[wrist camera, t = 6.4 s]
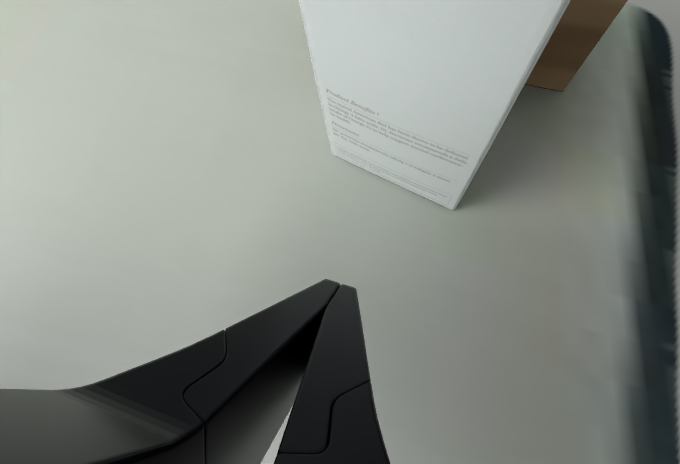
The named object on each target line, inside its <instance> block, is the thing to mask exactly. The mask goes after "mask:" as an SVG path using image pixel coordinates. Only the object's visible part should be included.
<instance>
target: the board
mask: <svg viewBox="0 0 680 464" xmlns="http://www.w3.org/2000/svg"><path fill="white" fill-rule="evenodd" d="M626 2H627V0H571V1H570V2H569V4H568V6H567V8H566V10H565V12H564V13H563V15H562V17H561V19H560V21H559V23H558V24H557V26H556V28H555V30H554V32H553V33H552V35H551V37H550V39H549V41H548V43H547V44H546V46H545V48H544V50H543V52H542V54H541V55H540V57H539V59H538V61H537V63H536V64H535V66H534V68H533V70H532V72H531V74H530V75H529V77H528V79H527V81H526V83H525V84H527V85H532V86H537V87H543V88H548V89H553V90H559V91H563V90H564V89H565V87H566V86H567V85H568V83H569V82H570V80H571V79H572V77H573V76H574V75H575V73H576V72H577V70H578V69H579V68H580V66H581V65H582V63H583V62H584V61H585V59H586V58H587V56H588V55H589V54H590V52H591V51H592V49H593V48H594V47H595V45H596V44H597V42H598V41H599V40H600V38H601V37H602V35H603V34H604V33H605V31H606V30H607V28H608V27H609V26H610V24H611V23H612V21H613V20H614V19H615V17H616V16H617V14H618V13H619V12H620V10H621V9H622V7H623V6H624V5H625V3H626Z"/></svg>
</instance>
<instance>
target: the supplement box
mask: <svg viewBox="0 0 680 464" xmlns="http://www.w3.org/2000/svg"><path fill="white" fill-rule="evenodd" d="M570 1H571V0H299V5H300V9H301V14H302V18H303V23H304V27H305V33H306V38H307V42H308V46H309V51H310V56H311V60H312V65H313V70H314V74H315V79H316V84H317V88H318V92H319V97H320V102H321V107H322V111H323V116H324V120H325V124H326V129H327V133H328V138H329V142H330V147H331V151H332V154H333V155H335V156H338V157H340V158H342V159H344V160H346V161H348V162H350V163H352V164H354V165H356V166H359V167H361V168H363V169H365V170H367V171H369V172H371V173H374V174H376V175H378V176H380V177H382V178H384V179H386V180H389V181H391V182H393V183H395V184H397V185H399V186H401V187H404V188H406V189H408V190H410V191H412V192H414V193H416V194H419V195H421V196H423V197H425V198H427V199H429V200H432V201H434V202H436V203H438V204H440V205H442V206H444V207H446V208H449V209H451V210H455V208H456V207H457V205H458V203H459V202H460V200H461V198H462V197H463V195H464V193H465V191H466V190H467V188H468V186H469V184H470V183H471V181H472V179H473V177H474V176H475V174H476V172H477V170H478V168H479V167H480V165H481V163H482V161H483V160H484V158H485V156H486V154H487V152H488V151H489V149H490V147H491V145H492V143H493V142H494V140H495V138H496V136H497V134H498V132H499V131H500V129H501V127H502V125H503V123H504V121H505V120H506V118H507V116H508V114H509V112H510V110H511V108H512V107H513V105H514V103H515V101H516V99H517V97H518V95H519V94H520V92H521V90H522V88H523V86H524V85H525V83H526V81H527V79H528V77H529V75H530V74H531V72H532V70H533V68H534V66H535V64H536V63H537V61H538V59H539V57H540V55H541V54H542V52H543V50H544V48H545V46H546V44H547V43H548V41H549V39H550V37H551V35H552V33H553V32H554V30H555V28H556V26H557V24H558V23H559V21H560V19H561V17H562V15H563V13H564V12H565V10H566V8H567V6H568V4H569V2H570Z"/></svg>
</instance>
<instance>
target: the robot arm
mask: <svg viewBox="0 0 680 464" xmlns="http://www.w3.org/2000/svg"><path fill="white" fill-rule="evenodd" d="M370 382H371V380H370V374H369V367H368V361H367V354H366V348H365V341H364V335H363V328H362V322H361V315H360V309H359V302H358V296H357V290H356V289H355V288H354V287H350V286H347V285H344V284H342V285H341V286H340V284H339V283H337V282H334V281H331V280H328V279H325V280H323V281H321V282H319V283H317V284H315V285H313V286H311V287H309V288H307V289H305V290H303V291H301V292H299V293H297V294H295V295H293V296H291V297H289V298H287V299H285V300H283V301H281V302H278V303H276V304H274V305H272V306H270V307H268V308H266V309H264V310H262V311H260V312H258V313H256V314H254V315H252V316H250V317H248V318H246V319H244V320H242V321H240V322H238V323H236V324H234V325H232V326H230V327H228V328H226V330H222V331H220V332H218V333H216V334H214V335H212V336H210V337H208V338H205V339H203V340H201V341H199V342H197V343H195V344H193V345H190V346H188V347H186V348H183V349H181V350H179V351H176V352H174V353H171V354H169V355H166V356H164V357H161V358H159V359H156V360H154V361H151V362H148V363H146V364H143V365H141V366H138V367H136V368H133V369H130V370H128V371H125V372H123V373H120V374H117V375H115V376H112V377H110V378H107V379H105V380H102V381H99V382H96V383H93V384H90V385H86V386H82V387H78V388H72V389H64V390H25V389H0V464H260V463H261V461H262V460H263V458H264V456H265V454H266V452H267V451H268V449H269V447H270V445H271V443H272V441H273V440H274V438H275V436H276V434H277V432H278V431H279V429H280V427H281V425H282V423H283V422H284V420H285V418H286V416H287V414H288V412H289V411H290V409H291V407H292V405H293V407H292V410H291V413H290V416H289V419H288V422H287V425H286V428H285V432H284V435H283V438H282V441H281V444H280V447H279V450H278V453H277V457H276V459H275V462H274V464H390V461H389V457H388V454H387V451H386V448H385V444H384V441H383V437H382V433H381V430H380V426H379V422H378V419H377V414H376V408H375V403H374V398H373V392H372V386H371V383H370ZM293 403H294V404H293Z"/></svg>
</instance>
